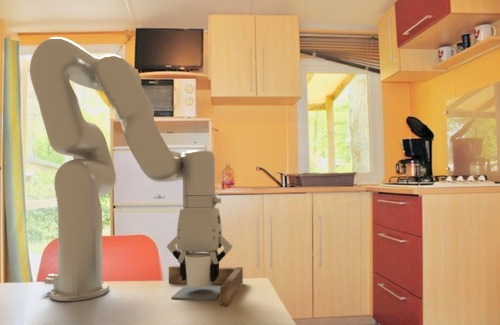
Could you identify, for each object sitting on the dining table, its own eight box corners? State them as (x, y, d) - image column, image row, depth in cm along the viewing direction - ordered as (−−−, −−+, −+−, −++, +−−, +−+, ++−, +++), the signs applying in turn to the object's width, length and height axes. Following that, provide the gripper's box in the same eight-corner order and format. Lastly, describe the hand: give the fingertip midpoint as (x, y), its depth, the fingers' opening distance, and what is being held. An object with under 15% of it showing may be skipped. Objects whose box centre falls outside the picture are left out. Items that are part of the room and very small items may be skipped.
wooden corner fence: (142, 302, 81) (142, 283, 81) (171, 280, 98) (171, 265, 98) (227, 306, 78) (227, 287, 78) (242, 283, 94) (242, 267, 95)
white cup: (180, 287, 84) (179, 256, 85) (190, 279, 91) (190, 250, 91) (209, 289, 83) (208, 257, 83) (217, 280, 90) (217, 251, 90)
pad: (171, 298, 83) (171, 297, 83) (186, 285, 93) (186, 284, 93) (214, 301, 81) (214, 299, 81) (225, 287, 91) (225, 285, 91)
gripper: (238, 201, 90) (239, 276, 89) (170, 201, 93) (170, 274, 92) (231, 204, 83) (232, 285, 82) (157, 203, 85) (158, 282, 85)
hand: (199, 278), depth 87 cm, fingers closed on white cup, 6 cm apart
